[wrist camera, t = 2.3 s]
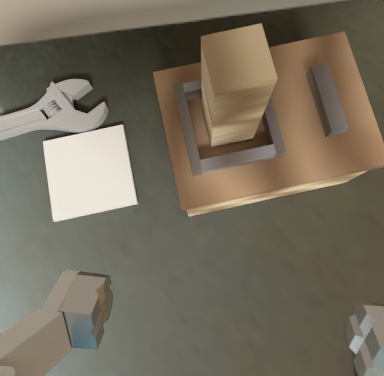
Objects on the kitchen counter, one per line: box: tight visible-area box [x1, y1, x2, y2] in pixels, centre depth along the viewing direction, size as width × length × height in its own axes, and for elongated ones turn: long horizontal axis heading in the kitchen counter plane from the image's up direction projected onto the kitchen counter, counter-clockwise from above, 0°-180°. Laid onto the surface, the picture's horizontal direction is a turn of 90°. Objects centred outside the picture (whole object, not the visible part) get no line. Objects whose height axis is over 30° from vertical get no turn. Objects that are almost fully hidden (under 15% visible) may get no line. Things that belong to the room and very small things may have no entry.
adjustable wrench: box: [0, 79, 109, 141], centre depth 38 cm, size 25×6×2 cm, turn 102°
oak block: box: [201, 23, 278, 149], centre depth 24 cm, size 4×4×10 cm
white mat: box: [43, 124, 138, 222], centre depth 37 cm, size 9×9×1 cm
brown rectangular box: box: [153, 31, 384, 216], centre depth 32 cm, size 18×13×10 cm
